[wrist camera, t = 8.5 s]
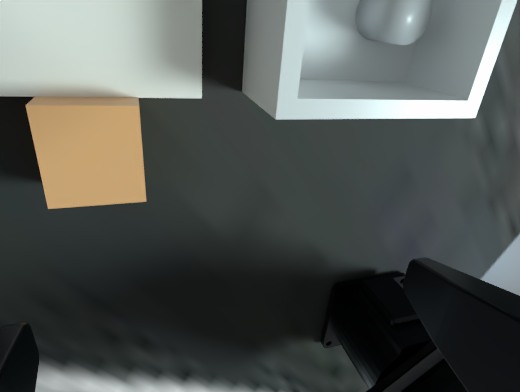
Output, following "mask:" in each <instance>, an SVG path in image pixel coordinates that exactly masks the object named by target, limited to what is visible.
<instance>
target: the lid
mask: <svg viewBox="0 0 520 392" xmlns="http://www.w3.org/2000/svg"><path fill="white" fill-rule="evenodd" d="M0 96H19V97H34V98H33V99H32V100H31V101H30V102H29V103H27V104H26V110H27V114H28V119H29V123H30V128H31V133H32V137H33V142H34V146H35V151H36V155H37V160H38V164H39V169H40V174H41V178H42V183H43V187H44V192H45V196H46V201H47V206H48V209H54V208H67V207H81V206H94V205H107V204H121V203H134V202H146V190H145V177H144V164H143V151H142V138H141V125H140V112H139V99H138V98H202V0H0Z"/></svg>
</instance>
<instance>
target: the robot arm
mask: <svg viewBox="0 0 520 392" xmlns="http://www.w3.org/2000/svg"><path fill="white" fill-rule="evenodd" d="M321 343H322V345H323V347H324V348H330V347H334V346H338V345H342V347H343V348H344V350H345V352H346V353H347V355H348V357H349V358H350V360H351V361H352V363H353V365H354V366H355V368H356V370H357V371H358V373H359V375H360V376H361V378H362V379H363V381H364V383H365V384H366V386H367V388H368V389H369V390H368V391H366V392H520V296H519V295H516V294H514V293H511V292H509V291H506V290H504V289H501V288H499V287H497V286H494V285H492V284H489V283H487V282H485V281H482V280H480V279H477V278H475V277H472V276H470V275H468V274H465V273H463V272H460V271H458V270H455V269H453V268H451V267H448V266H446V265H443V264H441V263H438V262H436V261H434V260H431V259H429V258H418V259H413V260H411V261H410V262H409V265H408V268H407V271H406V275H405V274H404V273H397V274H391V275H385V276H379V277H373V278H367V279H361V280H354V281H348V282H342V283H338V284H336V285H335V286H334V287H333V290H332V294H331V299H330V303H329V308H328V312H327V317H326V321H325V325H324V330H323V334H322V339H321ZM38 365H39V352H38V348H37V345H36V342H35V339H34V336H33V332H32V329H31V327H30V325H29V324H28V323H25V322H23V323H17V324H11V325H6V326H3V327H2V328H1V329H0V392H35V387H36V379H37V372H38Z"/></svg>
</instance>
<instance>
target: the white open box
mask: <svg viewBox="0 0 520 392" xmlns="http://www.w3.org/2000/svg"><path fill="white" fill-rule="evenodd" d="M516 2H517V0H247V10H246V28H245V47H244V65H243V83H242V92H243V93H244V94H245V95H246V96H248V97H249V98H250V99H251V100H253V101H254V102H255V103H256V104H257V105H259V106H260V107H261V108H262V109H264V110H265V111H266V112H267V113H268V114H270V115H271V116H272V117H273V118H275V119H404V118H475V117H476V114H477V111H478V109H479V106H480V103H481V100H482V97H483V95H484V92H485V89H486V86H487V83H488V81H489V78H490V75H491V72H492V69H493V67H494V64H495V61H496V58H497V56H498V53H499V50H500V47H501V44H502V42H503V39H504V36H505V33H506V30H507V28H508V25H509V22H510V19H511V16H512V14H513V11H514V8H515V5H516Z"/></svg>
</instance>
